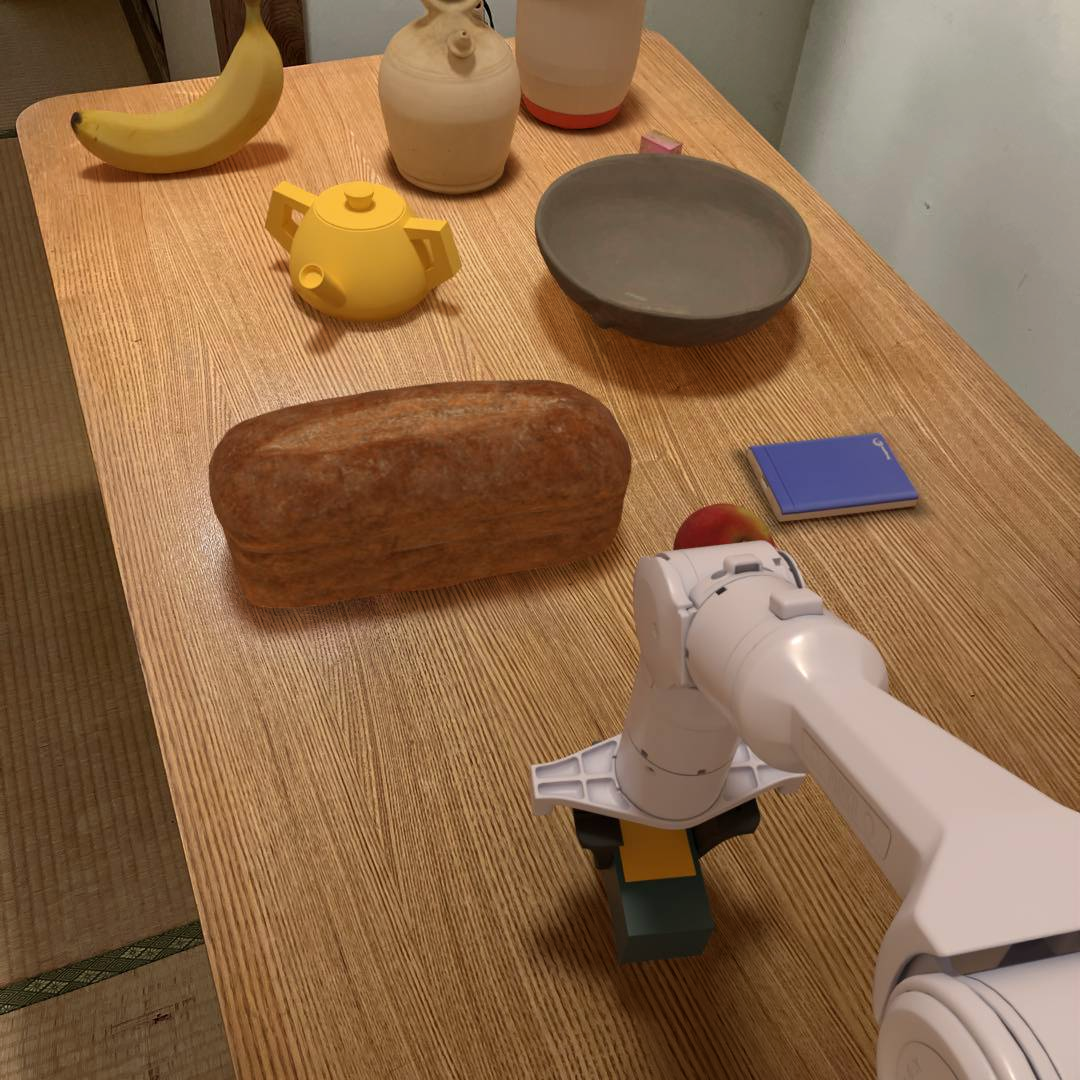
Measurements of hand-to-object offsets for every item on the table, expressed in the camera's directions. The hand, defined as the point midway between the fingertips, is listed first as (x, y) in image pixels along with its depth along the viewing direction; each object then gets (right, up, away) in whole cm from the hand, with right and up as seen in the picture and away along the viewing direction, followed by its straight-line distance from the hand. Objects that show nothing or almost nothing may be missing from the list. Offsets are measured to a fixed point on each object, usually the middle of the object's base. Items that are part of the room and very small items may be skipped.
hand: (644, 849), depth 63 cm
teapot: (-24, +42, +43) cm, 65 cm away
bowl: (+6, +41, +45) cm, 61 cm away
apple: (+7, +14, +21) cm, 27 cm away
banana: (-45, +60, +57) cm, 95 cm away
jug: (-17, +61, +61) cm, 88 cm away
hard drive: (+19, +23, +30) cm, 42 cm away
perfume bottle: (+10, +59, +62) cm, 86 cm away
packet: (0, -1, +1) cm, 1 cm away
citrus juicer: (-3, +73, +73) cm, 103 cm away
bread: (-15, +18, +22) cm, 32 cm away
